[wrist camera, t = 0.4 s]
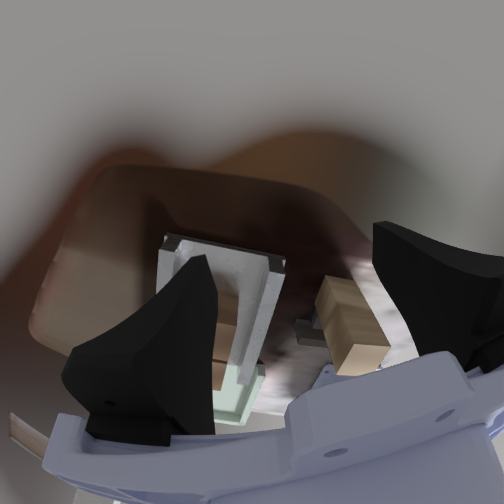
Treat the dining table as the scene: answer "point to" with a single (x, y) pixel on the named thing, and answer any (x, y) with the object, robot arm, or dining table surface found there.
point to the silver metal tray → (232, 289)
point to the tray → (237, 396)
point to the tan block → (344, 328)
